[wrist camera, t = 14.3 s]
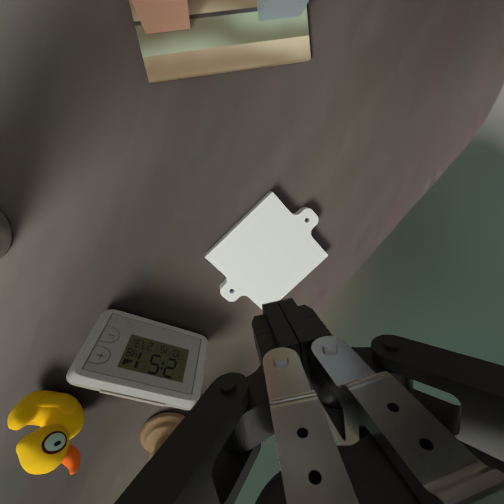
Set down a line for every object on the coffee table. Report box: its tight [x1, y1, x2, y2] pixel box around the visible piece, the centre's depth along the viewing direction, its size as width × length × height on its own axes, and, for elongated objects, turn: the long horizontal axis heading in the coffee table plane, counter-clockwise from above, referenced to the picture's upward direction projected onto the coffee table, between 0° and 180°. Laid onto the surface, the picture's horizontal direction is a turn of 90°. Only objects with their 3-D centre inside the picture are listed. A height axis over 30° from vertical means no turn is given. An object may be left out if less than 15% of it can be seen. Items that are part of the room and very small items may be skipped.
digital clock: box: [66, 309, 208, 410], centre depth 37 cm, size 16×9×11 cm, turn 54°
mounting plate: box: [205, 191, 328, 309], centre depth 41 cm, size 18×13×2 cm
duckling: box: [8, 390, 85, 475], centre depth 38 cm, size 11×5×10 cm, turn 47°
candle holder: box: [140, 412, 185, 461], centre depth 38 cm, size 9×9×20 cm
